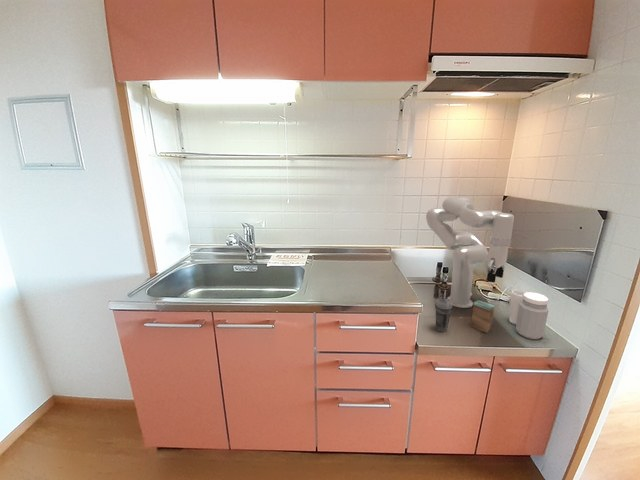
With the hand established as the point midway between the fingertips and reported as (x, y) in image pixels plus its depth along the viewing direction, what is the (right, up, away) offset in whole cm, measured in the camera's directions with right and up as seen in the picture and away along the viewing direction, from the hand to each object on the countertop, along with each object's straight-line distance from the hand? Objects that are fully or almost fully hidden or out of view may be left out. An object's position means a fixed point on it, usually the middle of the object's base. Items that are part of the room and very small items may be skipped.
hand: (494, 278), depth 124 cm
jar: (+12, -24, -4) cm, 27 cm away
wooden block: (-6, -23, +1) cm, 23 cm away
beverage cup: (-24, -23, +1) cm, 33 cm away
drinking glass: (+13, -21, +5) cm, 25 cm away
